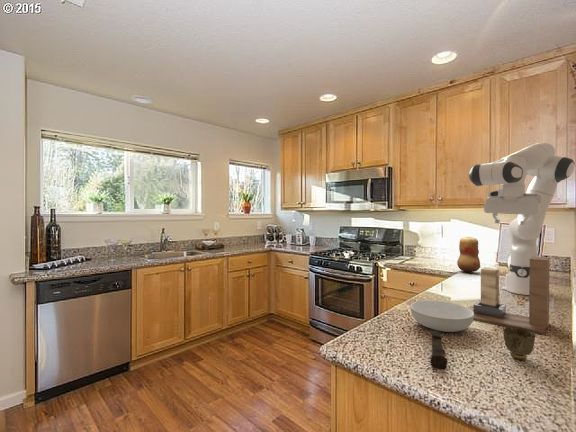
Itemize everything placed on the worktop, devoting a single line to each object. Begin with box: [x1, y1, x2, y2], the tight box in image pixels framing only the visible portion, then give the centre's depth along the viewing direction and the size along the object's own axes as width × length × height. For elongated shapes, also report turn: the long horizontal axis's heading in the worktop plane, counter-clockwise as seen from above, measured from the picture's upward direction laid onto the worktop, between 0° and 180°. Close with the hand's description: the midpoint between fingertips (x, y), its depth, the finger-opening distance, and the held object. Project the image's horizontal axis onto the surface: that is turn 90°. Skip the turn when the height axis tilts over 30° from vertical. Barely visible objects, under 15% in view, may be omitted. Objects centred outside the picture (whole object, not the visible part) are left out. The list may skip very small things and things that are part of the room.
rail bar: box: [480, 267, 500, 308], centre depth 122 cm, size 5×5×18 cm
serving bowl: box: [409, 299, 474, 333], centre depth 111 cm, size 21×21×7 cm
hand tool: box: [430, 330, 448, 371], centre depth 89 cm, size 19×4×5 cm, turn 154°
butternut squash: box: [456, 236, 481, 274], centre depth 212 cm, size 14×13×25 cm
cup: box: [502, 326, 537, 361], centre depth 87 cm, size 8×7×8 cm
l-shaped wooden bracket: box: [468, 256, 550, 336], centre depth 117 cm, size 16×26×25 cm, turn 46°
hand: (509, 224), depth 135 cm, fingers open, 8 cm apart
